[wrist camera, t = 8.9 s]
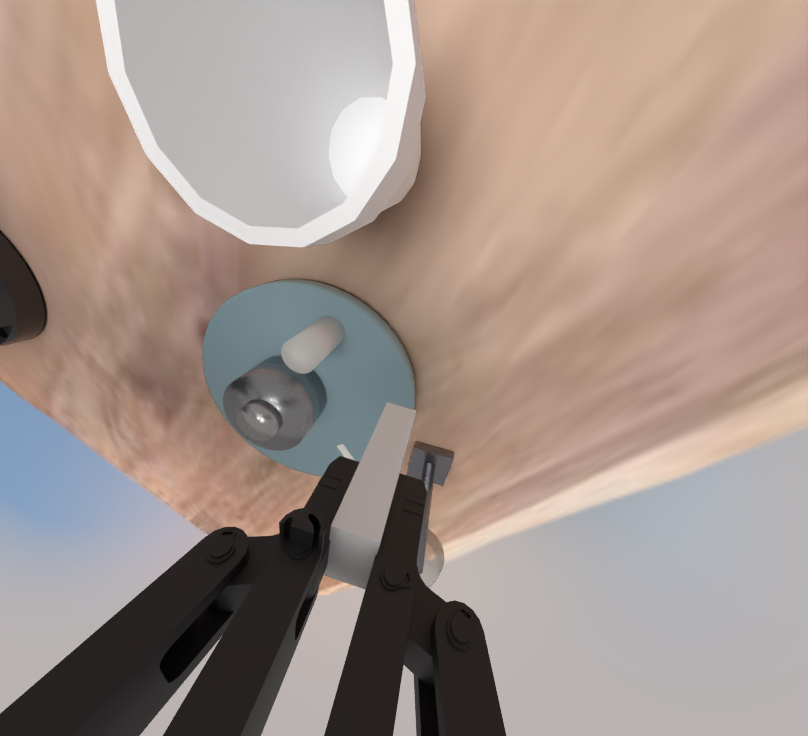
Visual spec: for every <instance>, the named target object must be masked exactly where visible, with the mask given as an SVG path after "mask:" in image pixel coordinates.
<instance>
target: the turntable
mask: <svg viewBox="0 0 808 736" xmlns="http://www.w3.org/2000/svg"><path fill="white" fill-rule="evenodd" d="M277 355H282V359H283V361H284V363H285V364H286V365H287V366H288V367H289V368H290V369H291V370H293V371H295V372H297V373H301V374H305V373H309V372H311V371H312V370H314V371H315V372H316V373H317V374H318V376H319V377H320V379H321V380H322V382H323V384H324V386H325V389H326V394H327V403H326V407H325V409H324V411H323V412H322V414H321V415H320V417H319V418H318V419H317V421H316V422H315V423H314V425H313V426H312V427H311V429H310V430H309V431H308V433H307V434H306V435H305V437H304V438H303V439H302V441H301V442H300V443H299V444H298V445H297V446H295V447H294V448H291V449H289V450H283V451H274V450H269V449H265V448H262V447H259V446H257V445H255V444H253V443H251V442H250V441H248V440H247V439H245V438H244V437H243V436H242V435H240V434H239V433H238V432H237V431H236V432H237V433H238V434H239V435H240V436H241V437H242V438H244V439H245V440H246V441H247V442H248V443H249V444H250V445H252V446H253V447H254V448H255V449H257V450H258V451H260V452H261V453H263V454H264V455H266V456H267V457H269V458H271V459H272V460H274V461H276V462H278V463H280V464H282V465H284V466H287V467H289V468H291V469H294V470H297V471H300V472H304V473H308V474H312V475H317V476H323V474H324V473H325V471H326V469H327V467H328V466H329V464H330V463H331V462H332V461H334V460H335V459H336V458H338V457H339V456H342V457H345V458H348V459H352V460H355V461H358V462H360V461H361V458H362V456H363V454H364V452H365V450H366V447H367V445H368V443H369V441H370V439H371V436H372V434H373V432H374V430H375V428H376V425H377V423H378V421H379V419H380V417H381V414H382V412H383V410H384V408H385V406H386V403H387V402H388V403H391V404H395V405H398V406H402V407H405V408H409V409H413V410H414V407H415V402H416V386H415V378H414V374H413V370H412V367H411V363H410V361H409V358H408V356H407V354H406V351H405V349H404V348H403V346H402V344H401V343H400V341H399V339H398V337H397V336H396V335H395V333H394V332H393V331H392V330H391V328H390V327H389V326H388V324H387V323H386V322H385V321H384V320H383V319H382V318H381V317H380V316H379V315H378V314H377V313H376V312H374V311H373V310H372V309H371V308H369V307H368V306H367V305H366V304H364V303H363V302H361V301H360V300H358V299H357V298H355V297H353V296H352V295H350V294H348V293H346V292H344V291H342V290H340V289H338V288H335V287H332V286H329V285H326V284H323V283H320V282H315V281H309V280H300V279H286V280H277V281H273V282H269V283H265V284H262V285H259V286H256V287H252V288H249V289H246V290H244V291H242V292H240V293H238V294H236V295H234V296H233V297H231V298H230V299H229V300H227V301H226V302H225V303H224V304H223V305H222V306H221V307H220V308H219V309H218V310H217V311H216V313H215V314H214V316H213V317H212V319H211V320H210V322H209V325H208V327H207V330H206V332H205V336H204V341H203V351H202V359H203V369H204V373H205V378H206V382H207V384H208V387H209V390H210V393H211V395H212V397H213V399H214V401H215V403H216V405H217V406H218V408H219V410H220V411H221V413H222V414H223V416H224V417H225V418H226V420H227V421H228V422H229V420H228V418H227V416H226V414H225V411H224V407H223V395H224V392H225V390H226V388H227V387H228V385H229V384H230V383H232V382H233V381H234V380H236V379H237V378H239V377H240V376H242V375H243V374H245V373H246V372H247V371H249V370H250V369H252V368H253V367H255V366H256V365H258V364H259V363H260V362H262V361H263V360H265V359H267V358H269V357H271V356H277ZM229 424H230V425H231V423H230V422H229ZM231 426H232V425H231ZM232 427H233V426H232ZM233 428H234V427H233ZM234 429H235V428H234Z"/></svg>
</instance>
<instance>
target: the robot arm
mask: <svg viewBox="0 0 808 736" xmlns="http://www.w3.org/2000/svg"><path fill="white" fill-rule="evenodd" d="M44 321H45V310H44V304H43V300H42V297H41V294H40V291H39V289H38V287H37V284H36V282H35V280H34V278H33V276H32V274H31V273H30V271H29V269H28V268H27V266H26V265H25V263H24V262H23V260H22V259H21V257H20V256H19V254H18V253H17V252H16V251H15V249H14V248H13V247H12V246H11V244H10V243H9V242H8V241H7V240H6V239H5V237H4V236H3V235H2V234H1V233H0V346H3V345H9V344H12V343H16V342H20V341H24V340H27V339H31V338H33V337H35V336H37V335H38V334H39V333H40V332H41V330H42V328H43V326H44ZM416 412H417V411H416V410H413V409H409V408H405V407H402V406H398V405H395V404H391V403H388V402H387V403H386V406H385V408H384V410H383V412H382V414H381V417H380V419H379V421H378V423H377V425H376V428H375V430H374V432H373V434H372V436H371V439H370V441H369V443H368V445H367V447H366V450H365V452H364V454H363V456H362V458H361V461H360V462H358V461H355V460H352V459H348V458H345V457H342V456H339V457H338V458H336V459H335V460H334V461H332V462H331V463H330V464H329V466H328V467H327V469H326V471H325V473H324V474H323V477H322V478H321V479H320V481H319V483H318V485H317V486H316V488H315V490H314V492H313V493H312V495H311V497H310V499H309V500H308V502H307V504H306V505H305V507H304V508H302V509H297V510H294V511H292V512H290V513H289V514H287V515H286V516H285V517H284V518H283V519H282V520H281V521H280V522H279V528H280V534H277V535H273V536H259V537H247V535H246V534H245V532H244V531H243V530H242V529H239V528H236V527H224V528H221V529H218V530H215V531H214V532H212V533H211V534H209V535H208V536H206V537H205V538H204V539H202V540H201V541H200V542H199V543H198V544H197V545H196V546H194V547H193V548H192V549H191V550H190V551H189V552H187V553H186V554H185V555H184V556H183V557H182V558H181V559H179V560H178V561H177V562H176V563H175V564H174V565H172V566H171V567H170V568H169V569H168V570H167V571H166V572H165V573H163V574H162V575H161V576H160V577H158V578H157V579H156V580H155V581H154V582H153V583H152V584H150V585H149V586H148V587H147V588H146V589H145V590H144V591H142V592H141V593H140V594H139V595H138V596H136V597H135V598H134V599H133V600H132V601H131V602H129V603H128V604H127V605H126V606H125V607H124V608H122V609H121V610H120V611H119V612H118V613H117V614H116V615H114V617H112V618H111V619H110V620H109V621H107V622H106V623H105V624H104V625H103V626H102V627H100V628H99V629H98V630H97V631H96V632H95V633H93V635H91V636H90V637H89V638H88V639H87V640H85V641H84V642H83V643H82V644H81V645H80V646H78V647H77V648H76V649H75V650H74V651H73V652H71V654H69V655H68V656H67V657H66V658H64V659H63V660H62V661H61V662H60V663H59V664H58V665H56V666H55V667H54V668H53V669H52V670H51V671H49V672H48V673H47V674H46V675H45V676H44V677H42V678H41V679H40V680H39V681H38V682H37V683H35V684H34V685H33V686H32V687H31V688H30V689H28V690H27V691H26V692H25V693H24V694H23V695H22V696H20V697H19V698H18V699H17V700H16V701H15V702H13V703H12V704H11V705H10V706H9V707H8V708H6V709H5V710H4V711H3V712H2V713H1V714H0V736H139V735H140V734H141V733H142V732H143V731H144V729H145V728H146V727H147V726H148V724H149V723H150V722H151V721H152V720H153V718H154V717H155V716H156V715H157V713H158V712H159V711H160V710H161V709H162V708H163V706H164V705H165V704H166V703H167V702H168V700H169V699H170V698H171V697H172V695H173V694H174V693H175V692H176V691H177V689H178V688H179V687H180V686H181V684H182V683H183V682H184V681H185V680H186V679H187V677H188V676H189V675H190V674H191V672H192V671H193V670H194V669H195V668H196V666H197V665H198V664H199V663H200V662H201V660H202V659H203V658H204V657H205V656H206V654H207V653H208V652H209V651H210V649H211V648H212V647H213V646H214V645H215V643H216V642H217V641H218V640H219V639H220V637H221V636H222V637H221V639H220V641H219V642H218V644H217V646H216V647H215V649H214V651H213V652H212V654H211V656H210V657H209V659H208V661H207V662H206V664H205V666H204V668H203V669H202V671H201V673H200V674H199V676H198V678H197V679H196V681H195V683H194V684H193V686H192V688H191V689H190V691H189V693H188V694H187V696H186V698H185V700H184V701H183V703H182V704H181V706H180V708H179V710H178V711H177V713H176V715H175V716H174V718H173V720H172V721H171V723H170V725H169V726H168V728H167V730H166V732H165V733H164V735H163V736H261V734H262V731H263V729H264V726H265V724H266V721H267V719H268V716H269V714H270V711H271V709H272V706H273V704H274V701H275V699H276V697H277V694H278V692H279V689H280V687H281V684H282V681H283V679H284V677H285V674H286V672H287V669H288V667H289V664H290V662H291V659H292V657H293V654H294V652H295V649H296V647H297V645H298V642H299V640H300V637H301V635H302V632H303V630H304V627H305V625H306V622H307V620H308V617H309V615H310V612H311V610H312V607H313V605H314V602H315V600H316V597H317V593H318V589H319V584H320V582H321V579H322V577H323V575H324V572H325V576H328V577H331V578H334V579H337V580H339V581H342V582H345V583H348V584H351V585H354V586H357V587H360V588H363V589H366V590H365V594H364V597H363V601H362V605H361V608H360V612H359V615H358V619H357V622H356V626H355V629H354V633H353V636H352V640H351V643H350V647H349V650H348V654H347V657H346V661H345V665H344V668H343V671H342V675H341V678H340V682H339V685H338V689H337V693H336V696H335V700H334V703H333V707H332V710H331V714H330V718H329V721H328V724H327V728H326V731H325V735H324V736H393V731H394V724H395V717H396V710H397V704H398V697H399V691H400V684H401V677H402V670H403V664H404V665H405V666H406V667H407V668H408V669H409V670H410V671H411V672H412V673H413V674H414V689H415V710H416V731H417V736H506V733H505V728H504V724H503V719H502V714H501V709H500V705H499V700H498V695H497V691H496V686H495V682H494V677H493V672H492V668H491V663H490V659H489V654H488V649H487V645H486V640H485V635H484V631H483V629H482V625H481V623H480V620H479V618H478V617H477V616H476V614H475V613H474V611H473V610H472V609H471V608H469V607H468V606H467V605H466V604H464V603H461V602H458V601H450V602H445V601H444V600H443V599H441V598H440V597H439V596H438V595H436V594H435V593H434V592H433V591H431V590H430V589H429V588H428V587H427V586H426V585H425V583H424V582H423V580H422V579H421V576H420V574H419V572H418V567H417V554H418V548H419V541H420V535H421V528H422V522H423V515H424V509H425V502H426V496H427V491H426V488H425V484H424V481H423V480H420V479H417V478H413V477H410V476H407V475H403V474H400V470H401V467H402V463H403V459H404V456H405V452H406V448H407V445H408V441H409V437H410V434H411V430H412V426H413V423H414V419H415V415H416Z"/></svg>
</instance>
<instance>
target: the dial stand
mask: <svg viewBox="0 0 808 736" xmlns="http://www.w3.org/2000/svg"><path fill="white" fill-rule="evenodd" d="M453 457H454V452H452V451H448V450H445V449H441V448H438V447H434V446H431V445H427V444H424V443H420V442H417V441H416V443H415V446H414V450H413V453H412V457H411V460H410V464H409V467H408V471H407V475H408V476H411V477H414V478H418V479H421V480H423V481H424V484H425V488H426V491H427V496H426V502H425V509H424V515H423V522H422V528H421V535H420V541H419V548H418V554H417V567H418V572H419V574H420V576H421V579H422V580H423V582H424V583H425V585H426V586H427V587H428V588H429V587H430V586H432V585H433V584H434V583H435V582H436V580H437V579H438V577H439V575H440V573H441V571H442V568H443V565H444V551H443V548H442V545H441V543H440V541H439V539H438V538H437V537H436V535H435V534H434V533H433V532H431V531H430V530H429V529H428V523H429V515H430V506H431V498H432V489H433V483H435V484H438V485H442V486H443V485H444V482H445V479H446V477H447V474H448V472H449V469H450V467H451V464H452V461H453Z"/></svg>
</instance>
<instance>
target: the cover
mask: <svg viewBox="0 0 808 736" xmlns="http://www.w3.org/2000/svg"><path fill="white" fill-rule="evenodd" d="M326 403H327V394H326V389H325V386H324V384H323V382H322V380H321V379H320V377H319V376H318V374H317V373H316V372H315V371H314V370H312V371H311V372H309V373H305V374H301V373H297V372H295V371H293V370H291V369H290V368H289V367H288V366H287V365H286V364H285V363H284V361H283V359H282V355H277V356H271V357H269V358H267V359H265V360H263V361H262V362H260V363H259V364H258V365H256V366H255V367H253V368H252V369H250V370H249V371H247V372H246V373H245V374H243V375H242V376H240V377H239V378H237V379H236V380H234V381H233V382H232V383H230V384H229V385H228V387H227V388H226V390H225V392H224V395H223V407H224V411H225V414H226V416H227V418H228V420H229V422H230V423H231V425H232V426H233V427H234V428H235V430H236V431H237V432H238V433H239V434H240V435H242V436H243V437H244V438H245V439H247V440H248V441H250V442H251V443H253V444H255V445H257V446H259V447H262V448H265V449H269V450H274V451H283V450H289V449H291V448H294V447H295V446H297V445H298V444H299V443H300V442H301V441H302V439H303V438H304V437H305V435H306V434H307V433H308V431H309V430H310V429H311V427H312V426H313V425H314V423H315V422H316V421H317V419H318V418H319V417H320V415H321V414H322V412H323V411H324V409H325V407H326Z"/></svg>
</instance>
